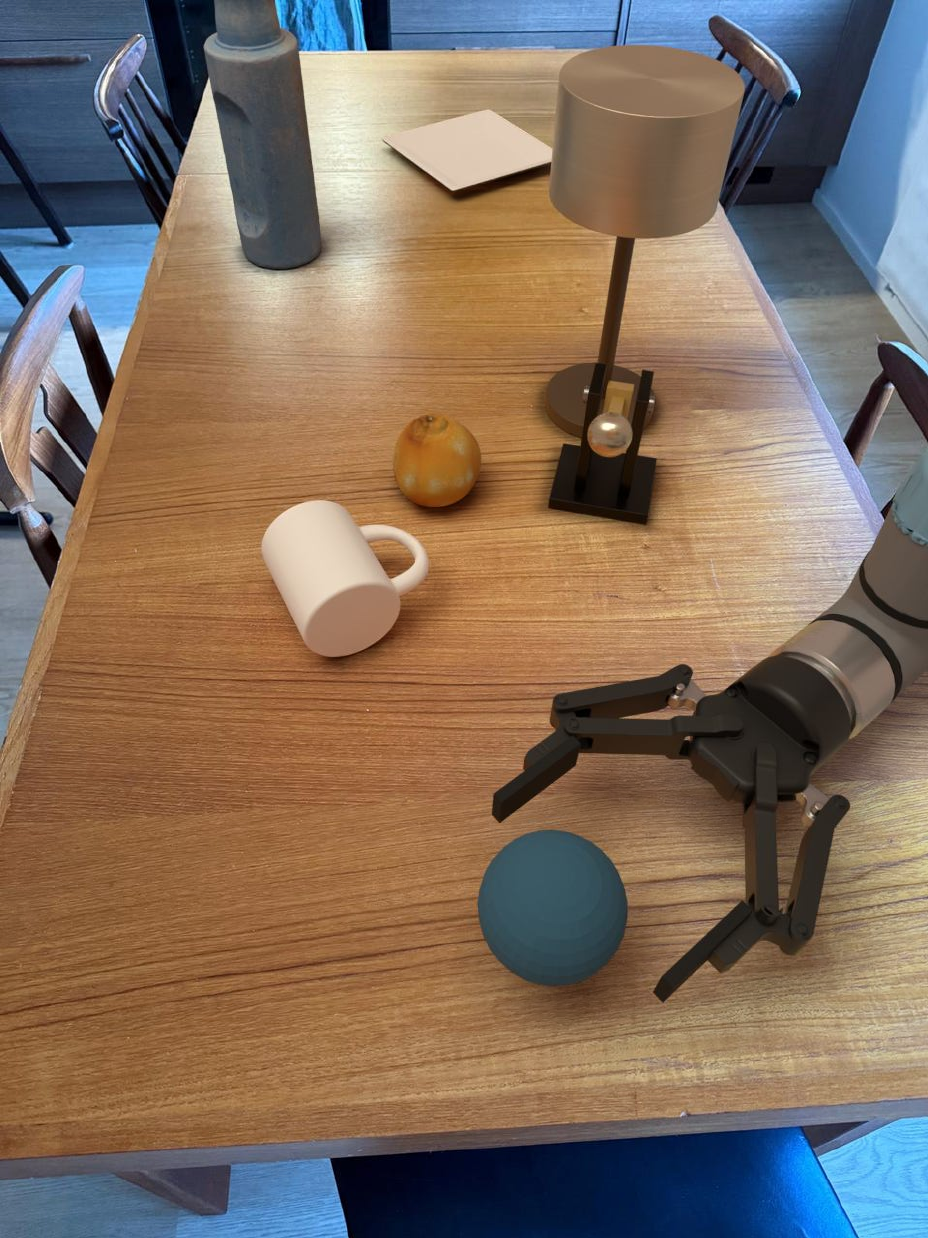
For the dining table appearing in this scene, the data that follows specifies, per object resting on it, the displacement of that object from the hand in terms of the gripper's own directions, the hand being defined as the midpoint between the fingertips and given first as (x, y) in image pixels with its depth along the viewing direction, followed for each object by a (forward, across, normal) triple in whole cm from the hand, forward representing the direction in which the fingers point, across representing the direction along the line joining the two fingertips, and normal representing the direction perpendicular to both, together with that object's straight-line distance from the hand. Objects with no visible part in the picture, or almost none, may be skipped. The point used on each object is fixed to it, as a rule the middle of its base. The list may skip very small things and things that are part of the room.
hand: (573, 894), depth 51 cm
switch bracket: (-32, +29, -8) cm, 44 cm away
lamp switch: (-27, +25, +4) cm, 37 cm away
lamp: (-40, +38, -8) cm, 56 cm away
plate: (-66, +88, -8) cm, 110 cm away
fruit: (-20, +38, -8) cm, 44 cm away
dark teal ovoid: (+2, 0, -8) cm, 8 cm away
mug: (-6, +31, -8) cm, 33 cm away
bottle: (-32, +84, -8) cm, 90 cm away
